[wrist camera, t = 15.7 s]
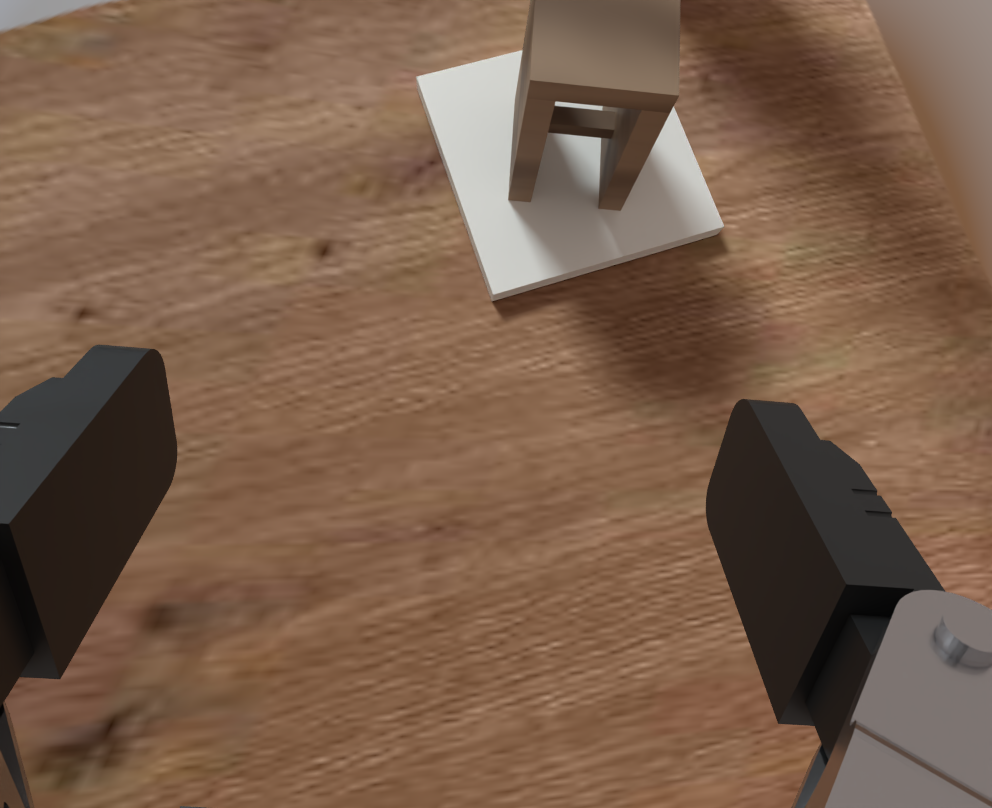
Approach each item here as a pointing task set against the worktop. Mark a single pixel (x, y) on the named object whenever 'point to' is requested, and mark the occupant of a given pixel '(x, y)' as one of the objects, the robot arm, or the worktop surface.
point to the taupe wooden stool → (595, 86)
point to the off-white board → (554, 186)
